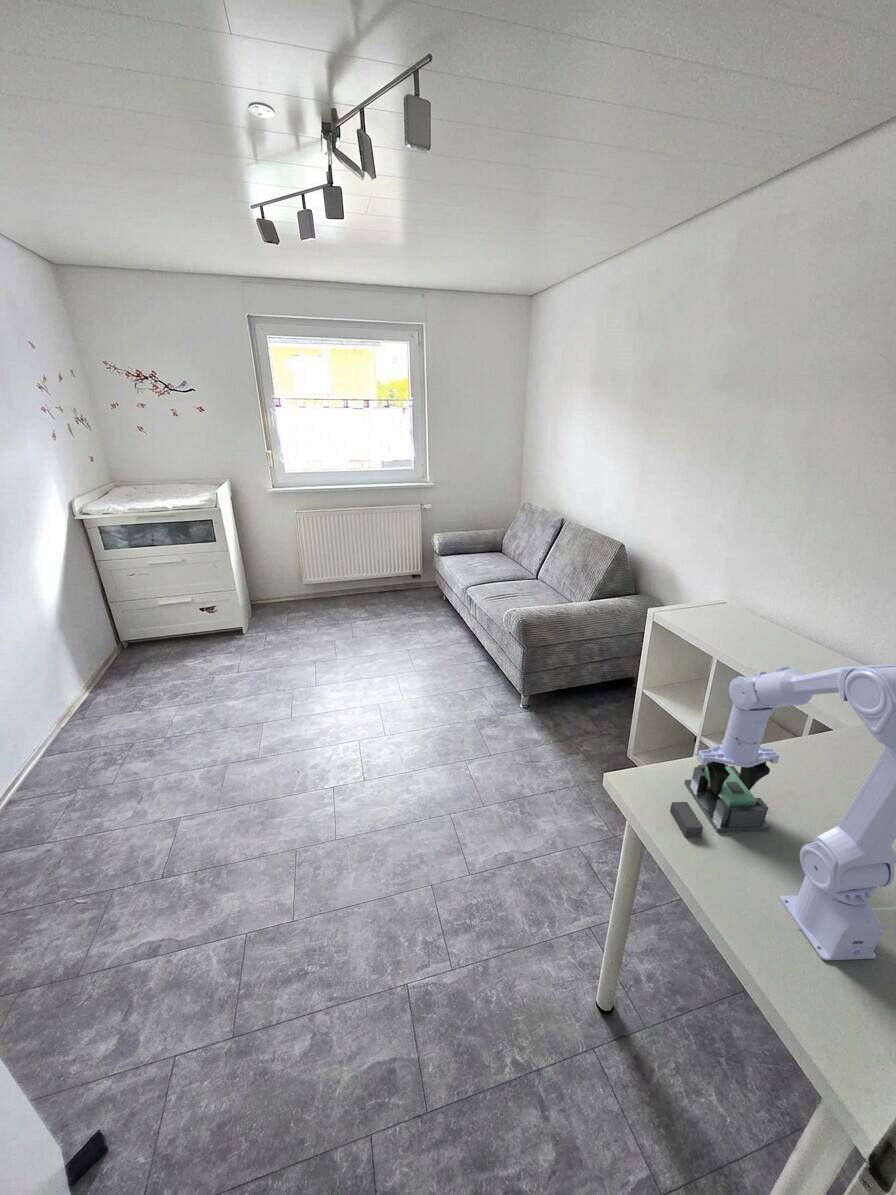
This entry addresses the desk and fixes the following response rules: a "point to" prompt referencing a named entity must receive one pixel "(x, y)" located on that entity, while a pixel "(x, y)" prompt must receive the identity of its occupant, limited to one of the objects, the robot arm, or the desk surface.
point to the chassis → (726, 807)
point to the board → (734, 791)
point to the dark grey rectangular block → (686, 819)
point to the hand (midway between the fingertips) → (728, 790)
